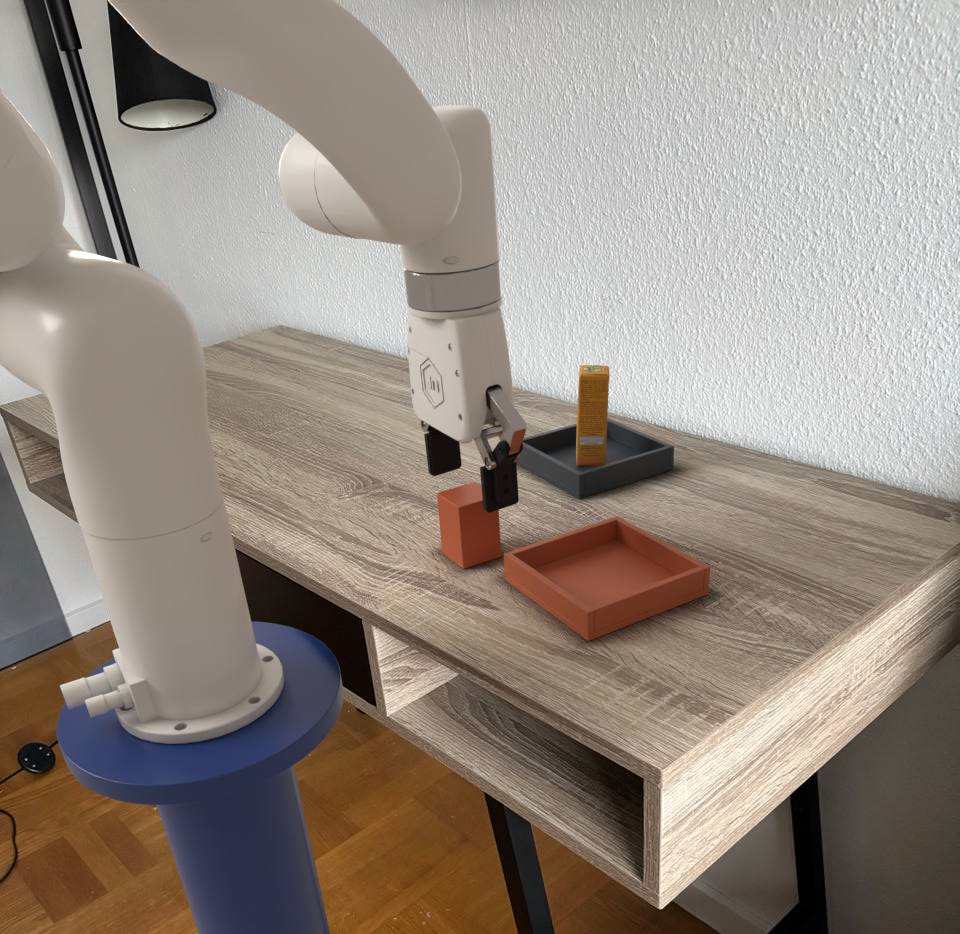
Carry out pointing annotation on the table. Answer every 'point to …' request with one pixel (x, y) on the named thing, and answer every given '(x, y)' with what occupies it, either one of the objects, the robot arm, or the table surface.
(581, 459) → the supplement box
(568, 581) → the terracotta tray
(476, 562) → the terracotta block
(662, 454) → the slate tray
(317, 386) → the table surface
